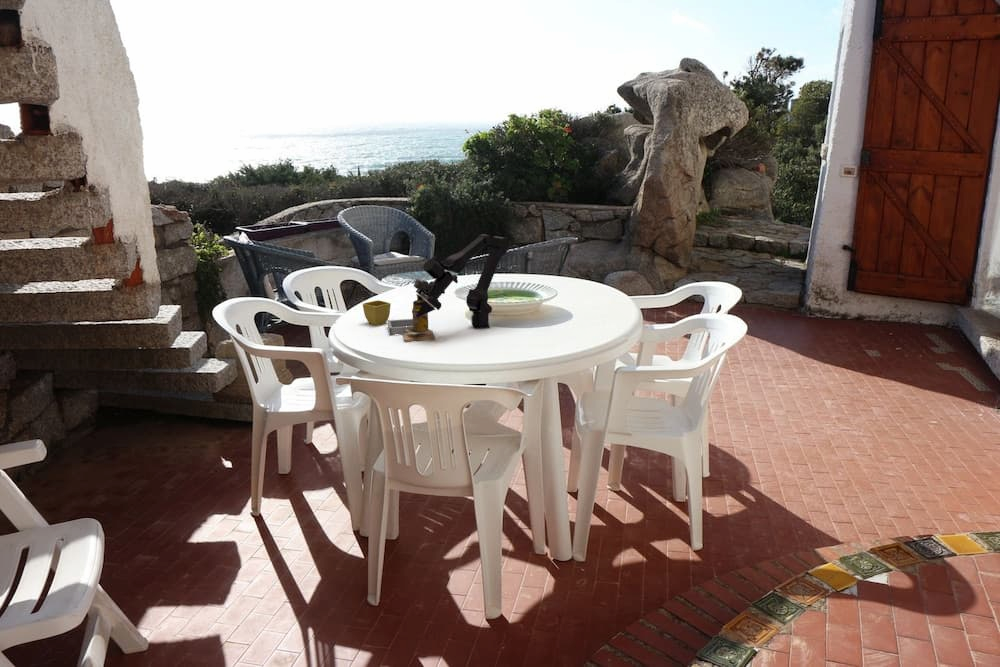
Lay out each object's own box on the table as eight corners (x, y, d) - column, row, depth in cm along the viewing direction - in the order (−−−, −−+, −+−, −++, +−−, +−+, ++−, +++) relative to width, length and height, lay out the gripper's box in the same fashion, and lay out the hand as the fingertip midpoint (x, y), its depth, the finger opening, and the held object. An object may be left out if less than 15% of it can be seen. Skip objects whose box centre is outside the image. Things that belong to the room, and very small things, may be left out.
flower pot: (392, 323, 314) (391, 302, 312) (375, 327, 308) (374, 306, 305) (379, 320, 320) (378, 299, 317) (363, 324, 314) (361, 303, 311)
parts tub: (421, 325, 310) (421, 318, 309) (424, 333, 298) (424, 325, 297) (388, 327, 307) (387, 320, 307) (389, 335, 295) (389, 328, 294)
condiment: (432, 331, 290) (431, 301, 286) (413, 334, 285) (411, 304, 282) (424, 327, 296) (422, 298, 292) (405, 330, 291) (403, 301, 288)
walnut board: (432, 333, 297) (432, 331, 297) (435, 340, 287) (435, 337, 287) (402, 335, 295) (402, 333, 294) (404, 342, 285) (404, 339, 285)
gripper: (419, 267, 294) (394, 297, 293) (431, 276, 277) (405, 307, 276) (439, 285, 299) (414, 314, 298) (452, 294, 282) (426, 325, 281)
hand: (414, 314), depth 288 cm, fingers closed on condiment, 6 cm apart
